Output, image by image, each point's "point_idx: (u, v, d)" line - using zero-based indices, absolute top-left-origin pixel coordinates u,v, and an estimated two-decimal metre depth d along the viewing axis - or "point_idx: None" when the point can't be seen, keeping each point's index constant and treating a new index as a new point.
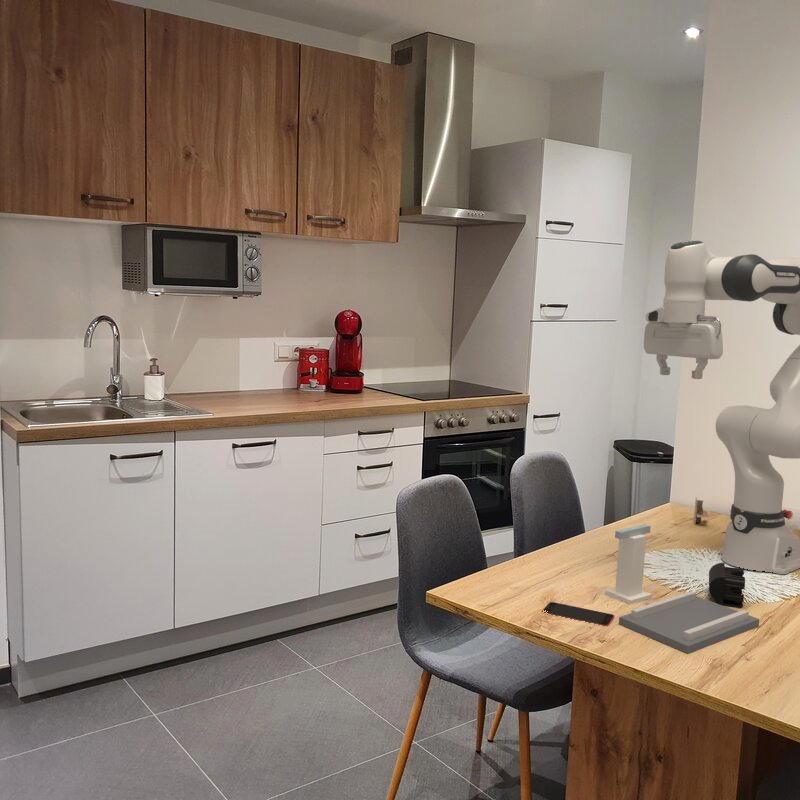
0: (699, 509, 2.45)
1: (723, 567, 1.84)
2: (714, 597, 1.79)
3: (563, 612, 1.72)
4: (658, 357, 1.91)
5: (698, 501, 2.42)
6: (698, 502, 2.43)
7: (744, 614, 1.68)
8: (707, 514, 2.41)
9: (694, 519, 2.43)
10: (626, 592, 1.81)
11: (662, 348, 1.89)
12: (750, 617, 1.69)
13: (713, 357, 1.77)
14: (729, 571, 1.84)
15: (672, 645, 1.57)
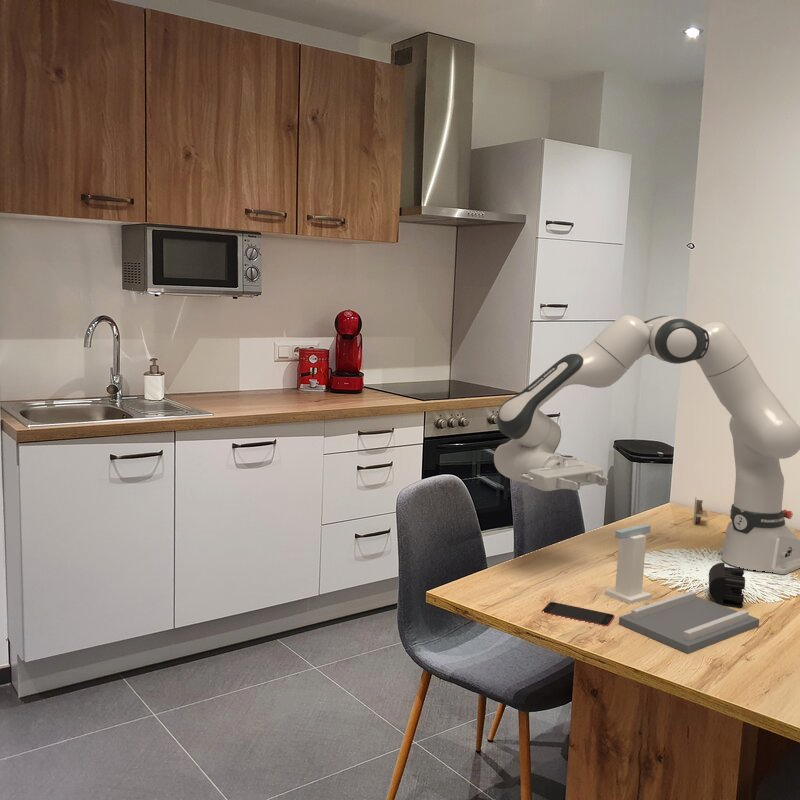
0: (699, 509, 2.45)
1: (723, 567, 1.84)
2: (714, 597, 1.79)
3: (563, 612, 1.72)
4: None
5: (698, 501, 2.43)
6: (698, 502, 2.43)
7: (744, 614, 1.68)
8: (707, 514, 2.41)
9: (694, 519, 2.43)
10: (626, 592, 1.81)
11: None
12: (750, 617, 1.69)
13: (545, 487, 1.87)
14: (729, 571, 1.84)
15: (672, 645, 1.57)
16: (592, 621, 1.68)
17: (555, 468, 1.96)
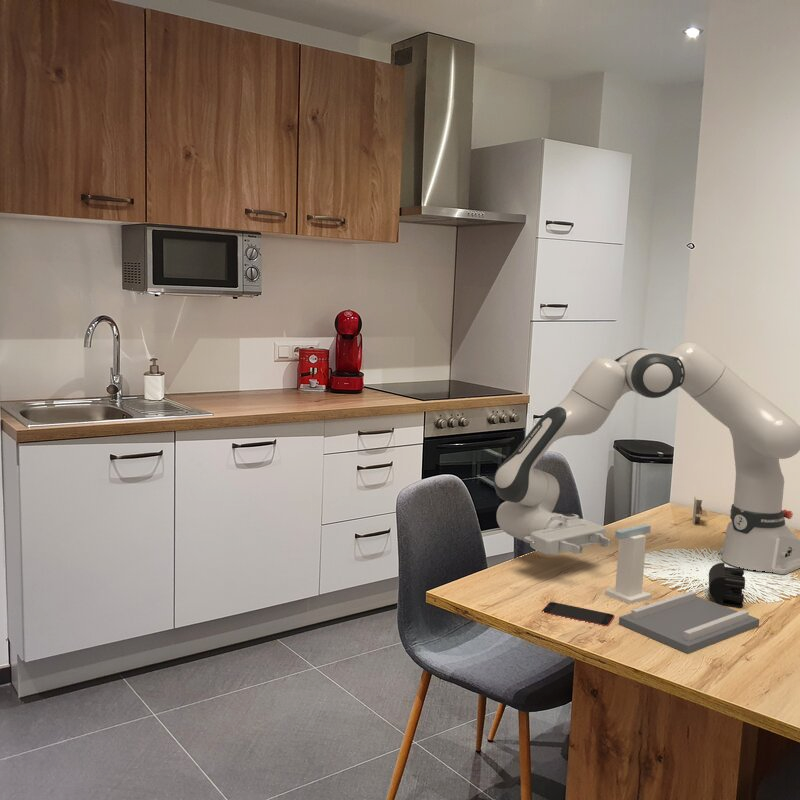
0: (698, 509, 2.46)
1: (723, 567, 1.84)
2: (714, 597, 1.79)
3: (563, 612, 1.72)
4: None
5: (697, 501, 2.43)
6: (697, 502, 2.43)
7: (744, 614, 1.68)
8: (706, 513, 2.41)
9: (693, 519, 2.44)
10: (626, 592, 1.81)
11: None
12: (750, 617, 1.69)
13: (548, 551, 1.88)
14: (729, 571, 1.84)
15: (672, 645, 1.57)
16: (592, 621, 1.68)
17: (557, 529, 1.97)
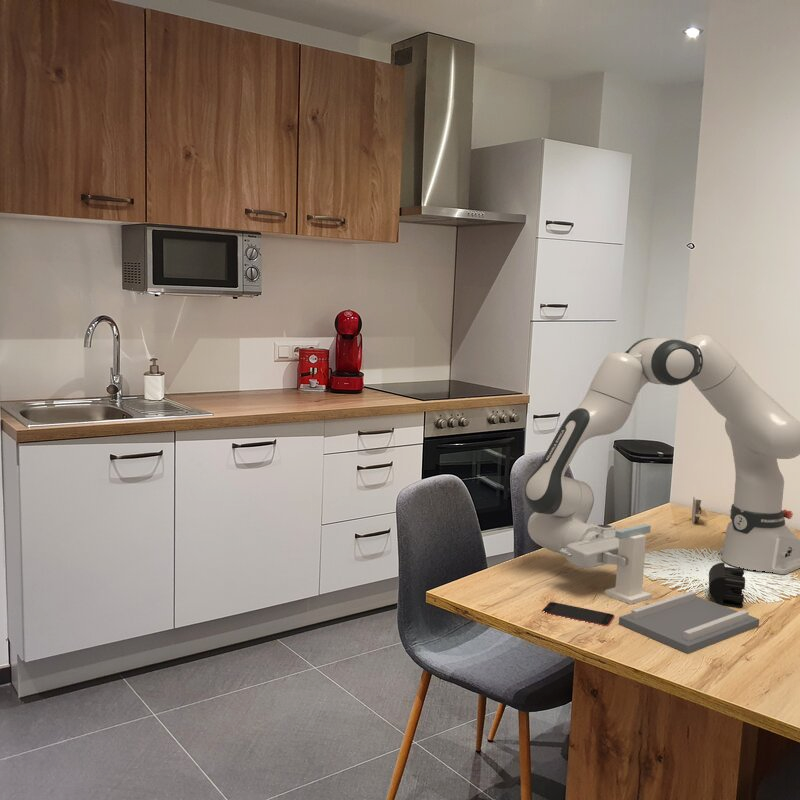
0: (697, 508, 2.46)
1: (723, 567, 1.84)
2: (714, 597, 1.79)
3: (563, 612, 1.72)
4: None
5: (696, 501, 2.43)
6: (696, 501, 2.43)
7: (744, 614, 1.68)
8: (705, 513, 2.42)
9: (692, 518, 2.44)
10: (626, 592, 1.81)
11: None
12: (750, 617, 1.69)
13: (586, 565, 1.79)
14: (729, 571, 1.84)
15: (672, 645, 1.57)
16: (592, 621, 1.68)
17: (594, 541, 1.88)
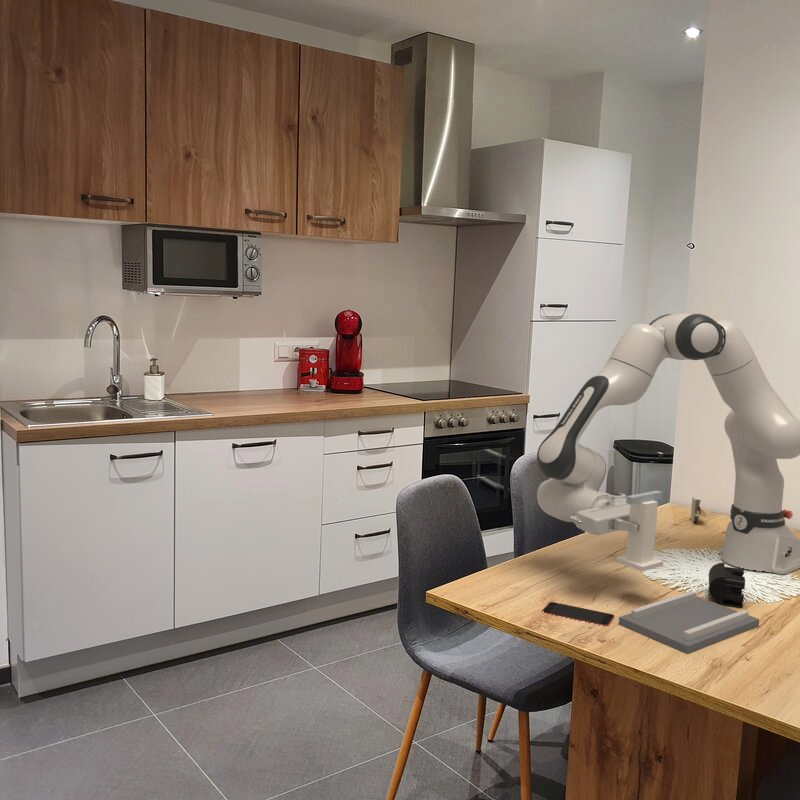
0: (696, 508, 2.46)
1: (723, 567, 1.84)
2: (714, 597, 1.79)
3: (563, 612, 1.72)
4: None
5: (696, 501, 2.43)
6: (695, 501, 2.44)
7: (744, 614, 1.68)
8: (705, 513, 2.42)
9: (692, 518, 2.44)
10: (637, 559, 1.78)
11: None
12: (750, 617, 1.69)
13: (596, 531, 1.76)
14: (729, 571, 1.84)
15: (672, 645, 1.57)
16: (592, 621, 1.68)
17: (604, 508, 1.85)
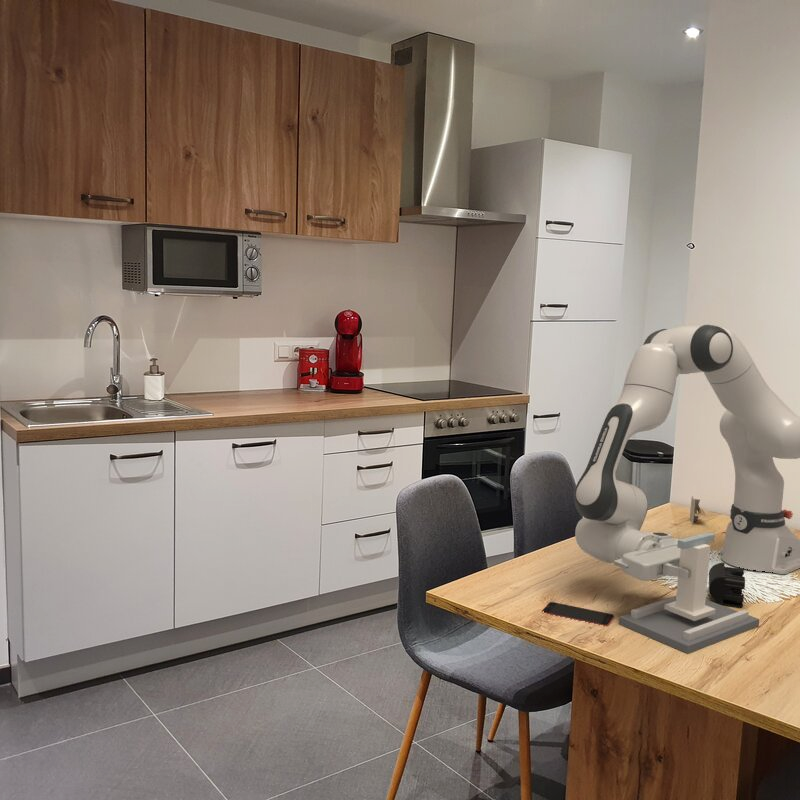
0: (695, 508, 2.46)
1: (723, 567, 1.84)
2: (714, 597, 1.79)
3: (563, 612, 1.72)
4: None
5: (695, 500, 2.43)
6: (695, 501, 2.44)
7: (744, 614, 1.68)
8: (704, 513, 2.42)
9: (691, 518, 2.44)
10: (688, 607, 1.66)
11: None
12: (750, 617, 1.69)
13: (645, 577, 1.64)
14: (729, 571, 1.84)
15: (672, 645, 1.57)
16: (592, 621, 1.68)
17: (651, 551, 1.73)
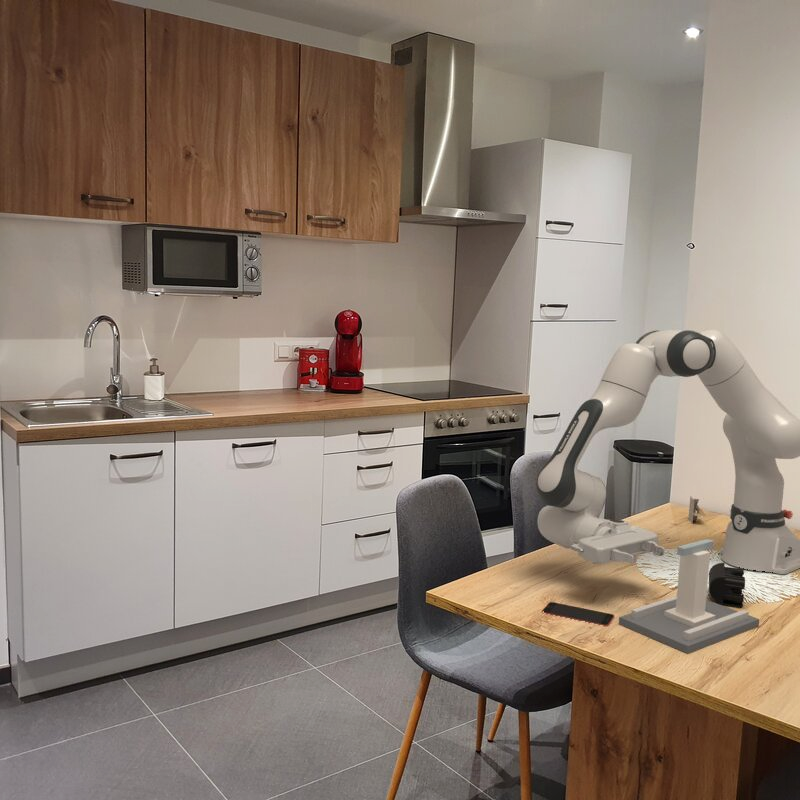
0: (693, 508, 2.47)
1: (723, 567, 1.84)
2: (714, 597, 1.79)
3: (563, 612, 1.72)
4: None
5: (694, 500, 2.44)
6: (694, 501, 2.44)
7: (744, 614, 1.68)
8: (703, 512, 2.42)
9: (690, 518, 2.45)
10: (688, 613, 1.66)
11: None
12: (750, 617, 1.69)
13: (599, 560, 1.74)
14: (729, 571, 1.84)
15: (672, 645, 1.57)
16: (592, 621, 1.68)
17: (607, 536, 1.82)
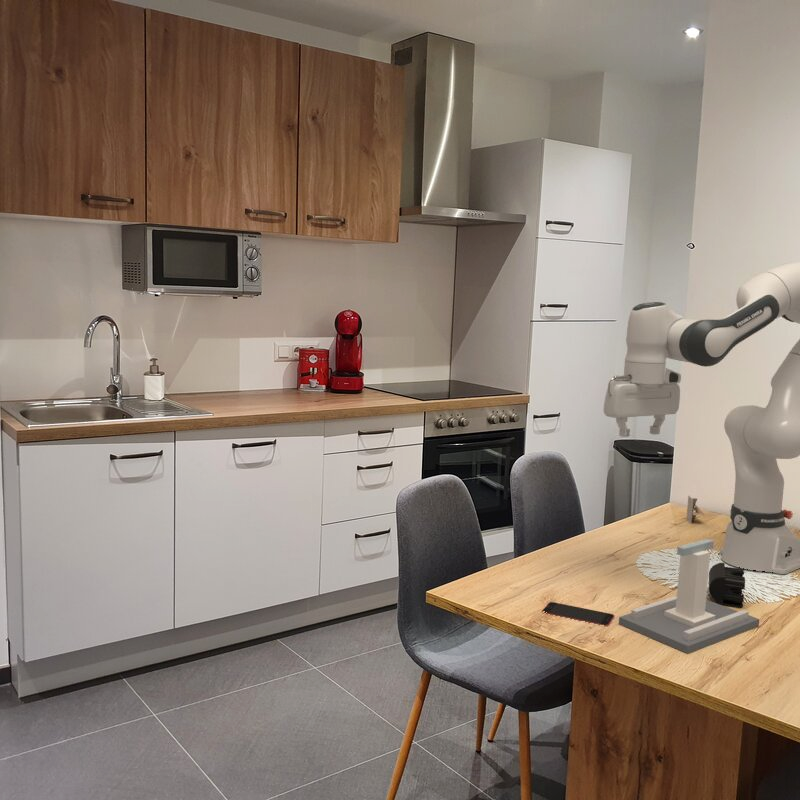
0: None
1: (723, 567, 1.84)
2: (714, 597, 1.79)
3: (563, 612, 1.72)
4: None
5: (692, 500, 2.44)
6: (692, 500, 2.45)
7: (744, 614, 1.68)
8: (702, 512, 2.43)
9: (688, 517, 2.45)
10: (688, 613, 1.66)
11: None
12: (750, 617, 1.69)
13: (606, 414, 1.84)
14: (729, 571, 1.84)
15: (672, 645, 1.57)
16: (592, 621, 1.68)
17: (643, 392, 1.85)
